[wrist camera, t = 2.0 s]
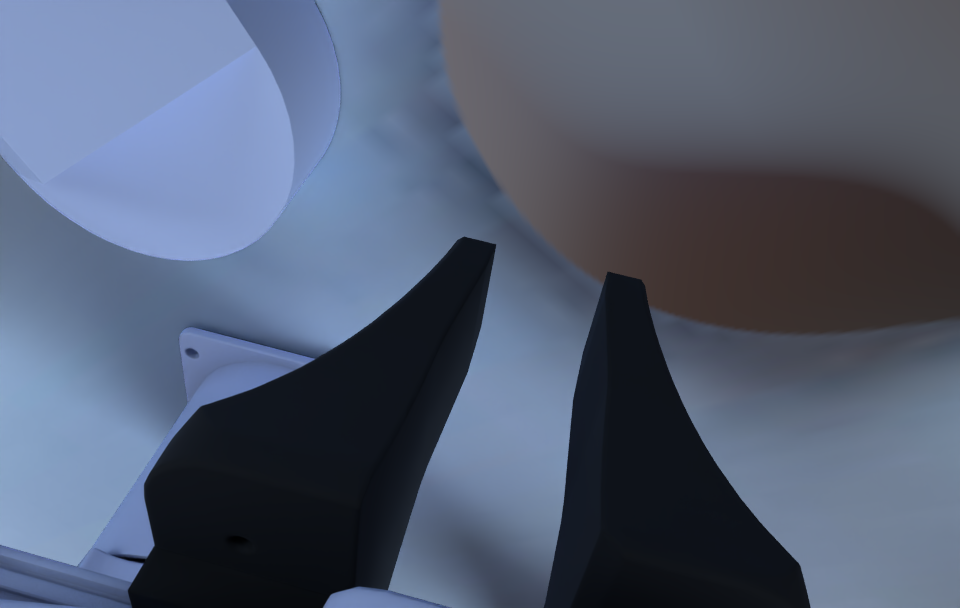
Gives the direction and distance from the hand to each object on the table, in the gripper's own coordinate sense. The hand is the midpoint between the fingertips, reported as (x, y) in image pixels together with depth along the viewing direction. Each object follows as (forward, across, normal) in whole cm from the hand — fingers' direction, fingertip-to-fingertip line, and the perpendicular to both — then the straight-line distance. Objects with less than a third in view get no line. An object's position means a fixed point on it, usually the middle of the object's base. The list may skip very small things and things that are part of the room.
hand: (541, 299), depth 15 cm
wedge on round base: (+9, +12, 0) cm, 15 cm away
